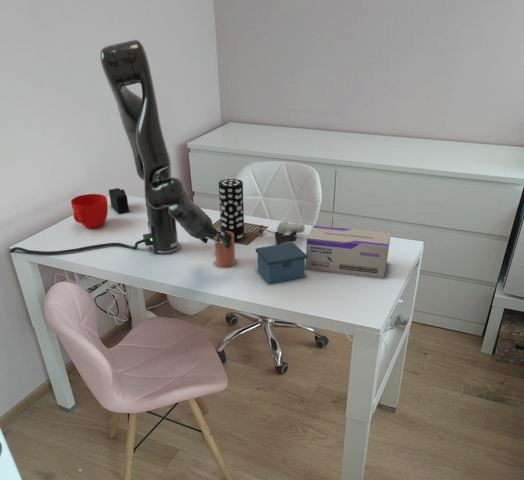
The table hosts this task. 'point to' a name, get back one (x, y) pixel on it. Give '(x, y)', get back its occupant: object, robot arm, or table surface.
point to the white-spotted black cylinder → (232, 207)
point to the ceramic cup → (90, 210)
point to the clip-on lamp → (285, 232)
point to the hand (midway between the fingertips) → (218, 243)
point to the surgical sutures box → (347, 251)
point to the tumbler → (225, 253)
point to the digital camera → (119, 200)
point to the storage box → (281, 262)
